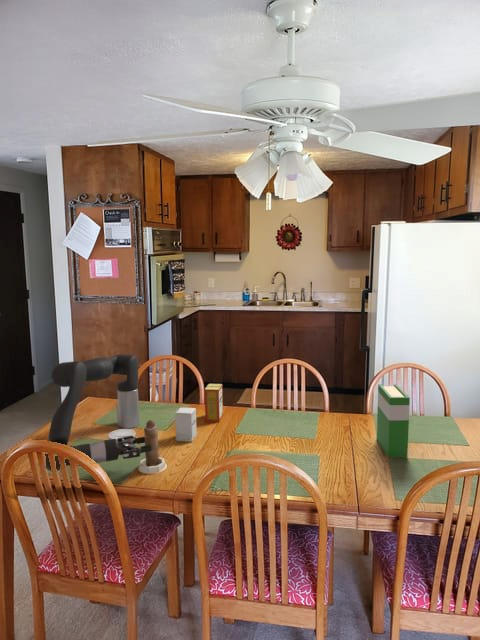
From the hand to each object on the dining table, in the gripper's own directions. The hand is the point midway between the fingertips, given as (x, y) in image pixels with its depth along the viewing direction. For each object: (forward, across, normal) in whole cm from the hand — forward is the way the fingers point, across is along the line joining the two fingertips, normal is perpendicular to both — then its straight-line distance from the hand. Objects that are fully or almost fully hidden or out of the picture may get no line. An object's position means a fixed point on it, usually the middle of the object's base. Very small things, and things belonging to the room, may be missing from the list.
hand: (148, 443), depth 184 cm
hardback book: (+94, -20, +11) cm, 97 cm away
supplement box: (+21, +24, +11) cm, 33 cm away
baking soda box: (+40, +42, +11) cm, 58 cm away
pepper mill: (+1, 0, +9) cm, 9 cm away
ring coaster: (+1, 0, +10) cm, 10 cm away
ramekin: (-6, +27, +11) cm, 30 cm away
